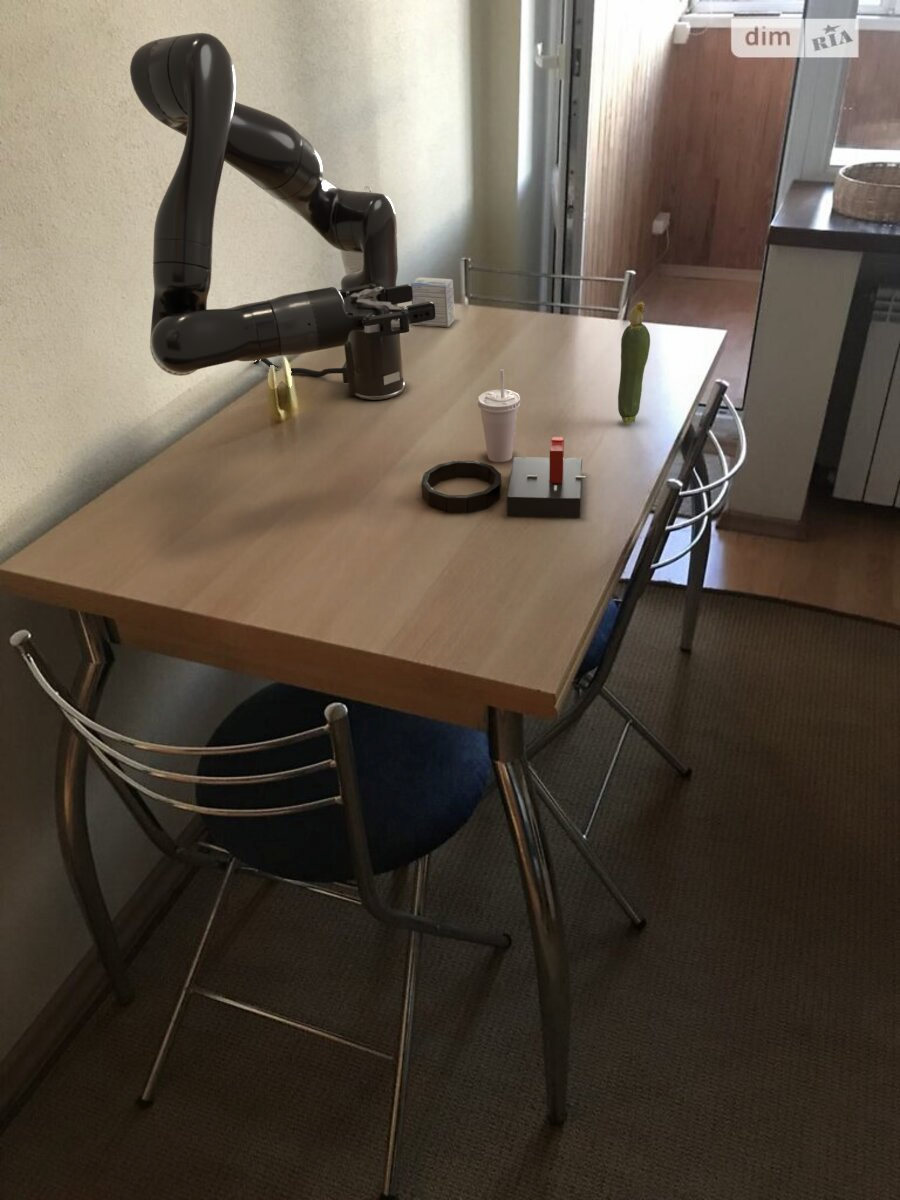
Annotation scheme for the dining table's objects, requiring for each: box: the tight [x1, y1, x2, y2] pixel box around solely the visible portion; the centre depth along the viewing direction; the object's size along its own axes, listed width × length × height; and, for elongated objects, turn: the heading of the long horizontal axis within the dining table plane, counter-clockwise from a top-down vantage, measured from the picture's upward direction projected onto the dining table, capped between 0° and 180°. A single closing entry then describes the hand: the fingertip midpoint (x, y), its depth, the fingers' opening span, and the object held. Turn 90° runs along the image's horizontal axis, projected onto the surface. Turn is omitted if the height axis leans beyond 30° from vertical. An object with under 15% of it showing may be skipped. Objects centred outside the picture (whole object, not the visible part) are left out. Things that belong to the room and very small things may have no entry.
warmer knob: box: [549, 436, 565, 483], centre depth 132 cm, size 4×2×5 cm, turn 172°
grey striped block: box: [409, 277, 456, 328], centre depth 195 cm, size 8×4×9 cm, turn 71°
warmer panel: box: [506, 456, 587, 518], centre depth 135 cm, size 11×12×3 cm
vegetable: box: [617, 300, 651, 426], centre depth 149 cm, size 4×4×20 cm
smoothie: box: [477, 368, 521, 463], centre depth 142 cm, size 6×6×14 cm
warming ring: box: [420, 459, 503, 514], centre depth 137 cm, size 11×11×2 cm
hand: (422, 301), depth 128 cm, fingers open, 8 cm apart
